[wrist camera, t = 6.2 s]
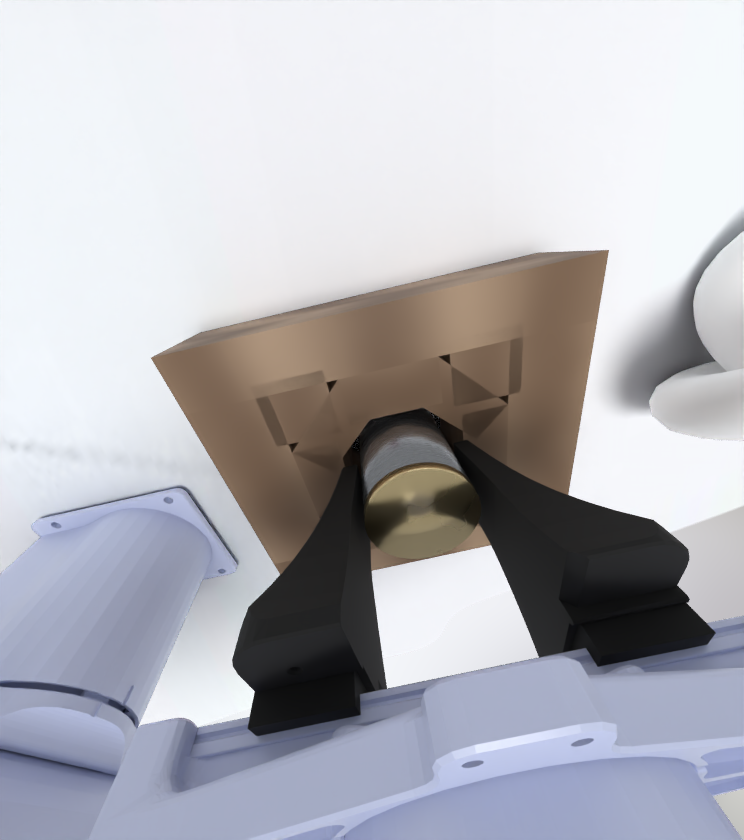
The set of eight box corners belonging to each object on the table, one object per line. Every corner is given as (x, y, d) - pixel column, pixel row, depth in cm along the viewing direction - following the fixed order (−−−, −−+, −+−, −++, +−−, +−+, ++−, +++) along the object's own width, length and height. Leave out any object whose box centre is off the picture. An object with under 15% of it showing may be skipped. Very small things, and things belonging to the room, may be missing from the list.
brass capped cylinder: (368, 470, 16) (378, 568, 11) (349, 407, 14) (351, 488, 9) (438, 454, 16) (484, 545, 11) (429, 388, 14) (478, 459, 9)
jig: (297, 532, 20) (288, 588, 17) (199, 332, 14) (150, 358, 10) (524, 482, 20) (562, 529, 17) (538, 252, 13) (608, 250, 10)
